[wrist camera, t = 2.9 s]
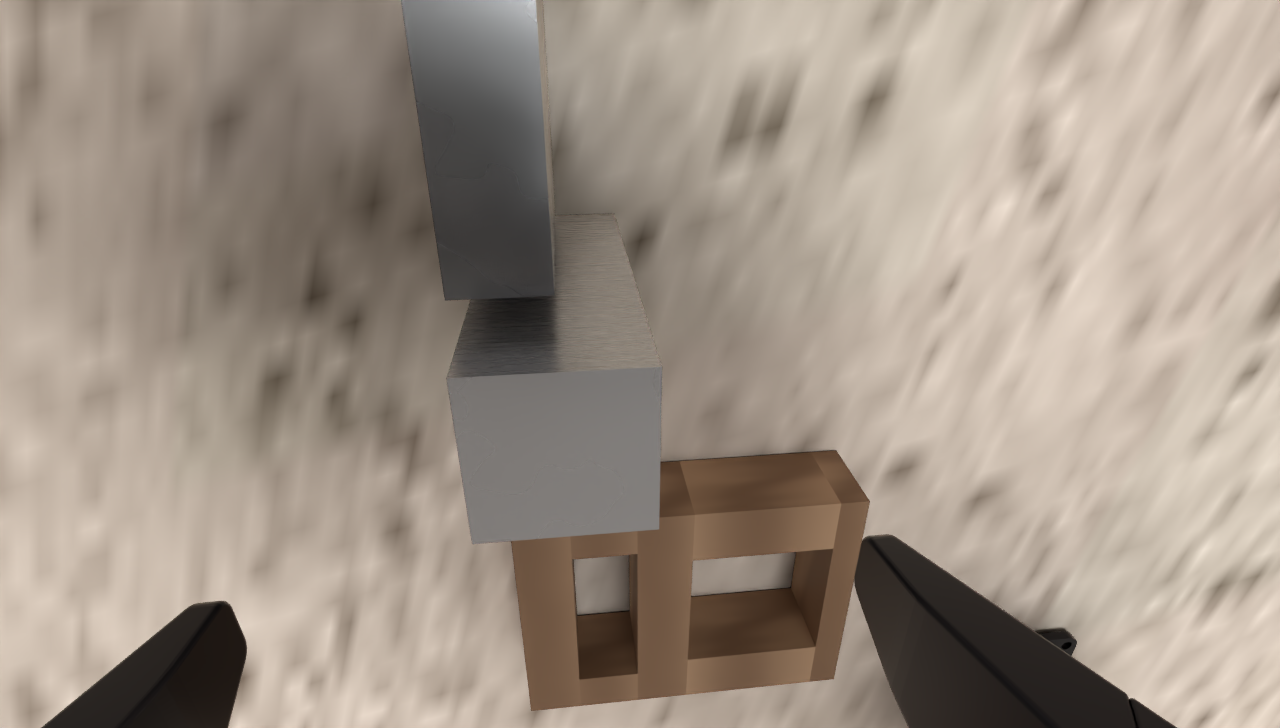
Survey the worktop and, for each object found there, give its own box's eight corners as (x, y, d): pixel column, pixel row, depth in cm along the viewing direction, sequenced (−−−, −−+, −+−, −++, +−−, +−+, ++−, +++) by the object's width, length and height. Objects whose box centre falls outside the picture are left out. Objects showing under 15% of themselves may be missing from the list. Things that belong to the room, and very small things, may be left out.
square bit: (614, 213, 20) (662, 366, 11) (616, 320, 21) (658, 528, 13) (496, 217, 19) (446, 378, 11) (507, 325, 21) (472, 544, 12)
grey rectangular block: (541, -16, 17) (533, -44, 10) (554, 196, 19) (554, 295, 12) (462, -16, 17) (394, -45, 10) (485, 198, 19) (445, 300, 12)
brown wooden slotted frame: (836, 450, 25) (869, 501, 22) (808, 619, 29) (833, 678, 26) (514, 472, 24) (509, 529, 21) (533, 645, 28) (531, 710, 25)
